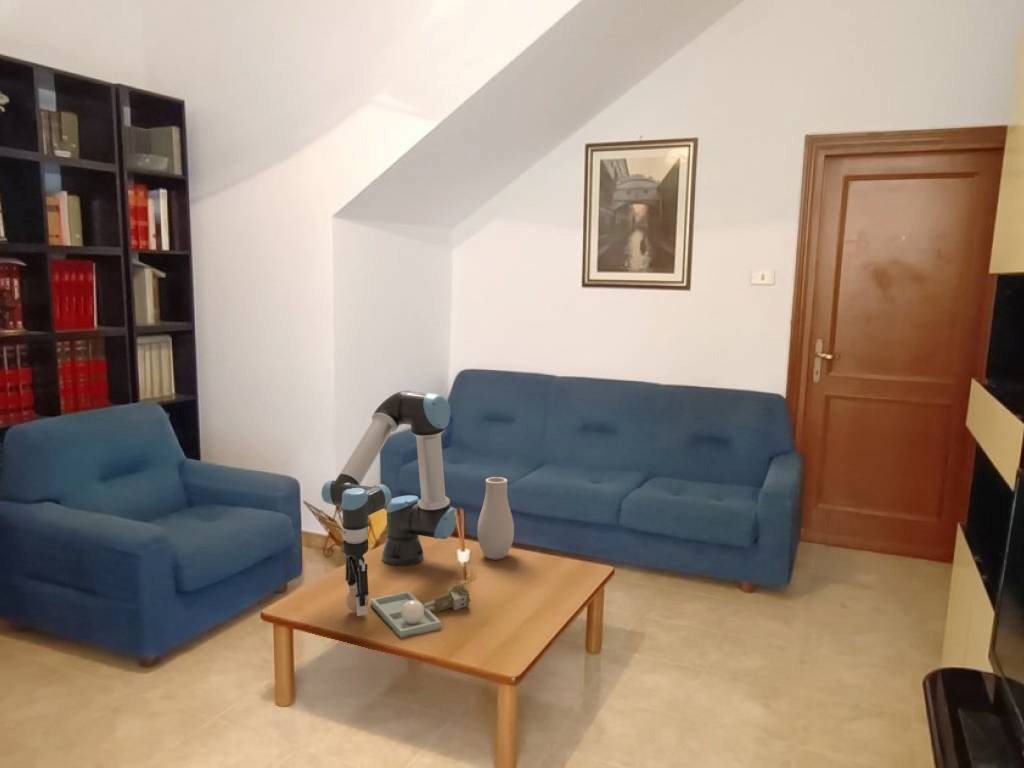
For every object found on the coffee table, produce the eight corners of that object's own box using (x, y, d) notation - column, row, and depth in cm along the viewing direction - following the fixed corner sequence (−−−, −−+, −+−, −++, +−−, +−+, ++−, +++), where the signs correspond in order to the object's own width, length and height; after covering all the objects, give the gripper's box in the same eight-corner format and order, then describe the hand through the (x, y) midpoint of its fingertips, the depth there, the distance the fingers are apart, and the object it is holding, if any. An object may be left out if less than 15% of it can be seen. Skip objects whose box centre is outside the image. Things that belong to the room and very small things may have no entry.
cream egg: (418, 615, 238) (418, 594, 237) (427, 624, 232) (427, 602, 231) (397, 620, 235) (397, 598, 234) (406, 629, 229) (406, 607, 228)
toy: (428, 608, 237) (473, 593, 243) (420, 593, 242) (464, 578, 248) (429, 624, 241) (472, 609, 247) (421, 609, 246) (464, 594, 252)
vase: (500, 566, 280) (501, 487, 275) (469, 558, 287) (470, 480, 283) (520, 555, 291) (522, 478, 287) (490, 547, 299) (491, 472, 294)
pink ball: (364, 603, 244) (364, 582, 242) (372, 612, 238) (371, 591, 237) (343, 608, 240) (342, 587, 239) (350, 617, 234) (349, 596, 233)
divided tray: (408, 597, 253) (408, 591, 252) (441, 628, 231) (441, 621, 231) (370, 605, 246) (370, 599, 246) (400, 638, 225) (400, 631, 225)
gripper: (333, 531, 242) (335, 599, 245) (354, 552, 225) (356, 625, 229) (356, 527, 245) (358, 594, 249) (378, 547, 228) (380, 620, 232)
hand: (357, 609), depth 239 cm, fingers closed on pink ball, 7 cm apart
